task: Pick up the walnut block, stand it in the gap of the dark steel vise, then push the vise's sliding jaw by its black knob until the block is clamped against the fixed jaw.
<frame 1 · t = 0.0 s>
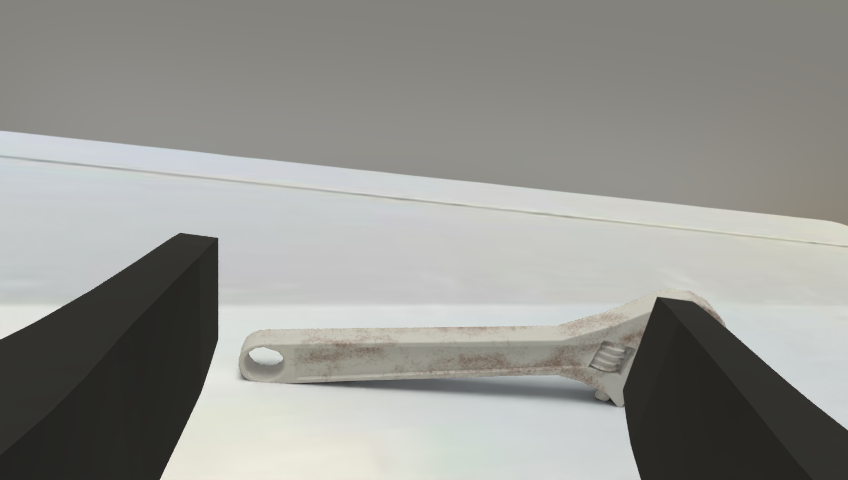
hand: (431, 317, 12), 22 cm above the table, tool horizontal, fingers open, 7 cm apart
wrench: (474, 394, 47), on the table
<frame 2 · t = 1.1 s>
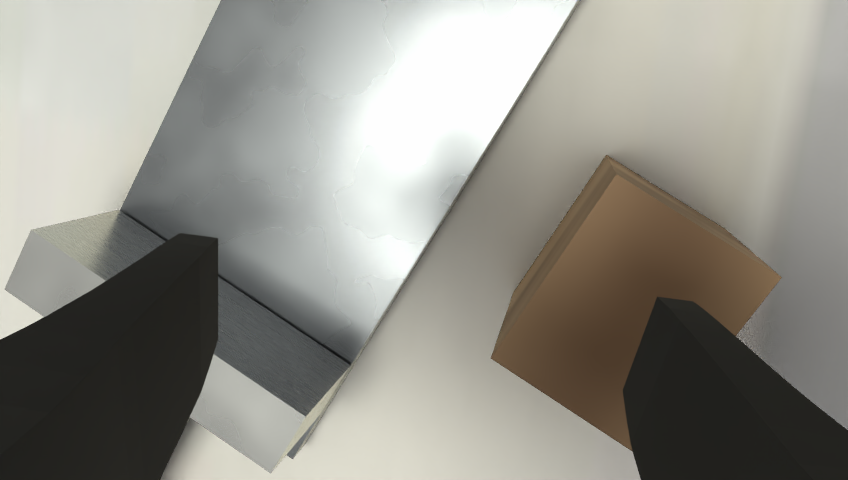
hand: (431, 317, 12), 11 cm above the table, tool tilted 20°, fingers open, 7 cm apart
slide jaw: (127, 443, 23), point 3 cm above the table, slide at 0.0 cm
block: (615, 262, 22), on the table
vise: (349, 93, 22), on the table
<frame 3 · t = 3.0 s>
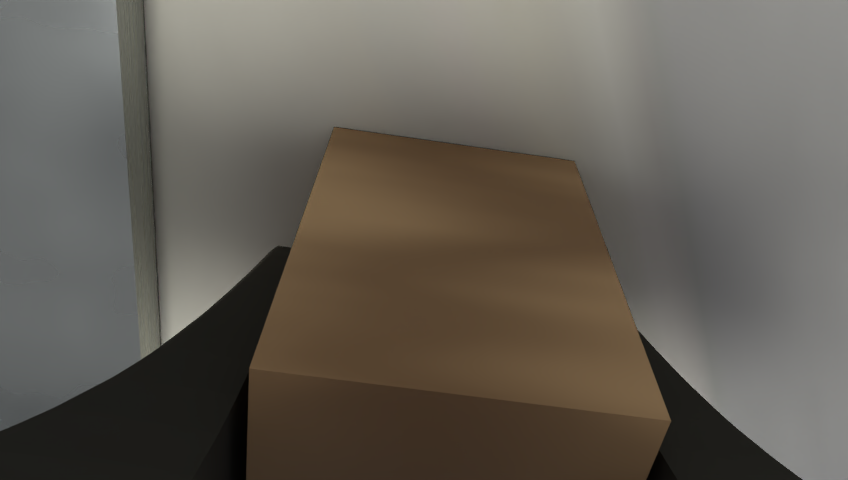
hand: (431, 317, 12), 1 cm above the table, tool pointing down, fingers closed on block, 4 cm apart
block: (432, 270, 13), on the table, touching gripper
when the fingers open (4 cm above the table, at t = 6.2 s): block stays where it is, resting on vise.
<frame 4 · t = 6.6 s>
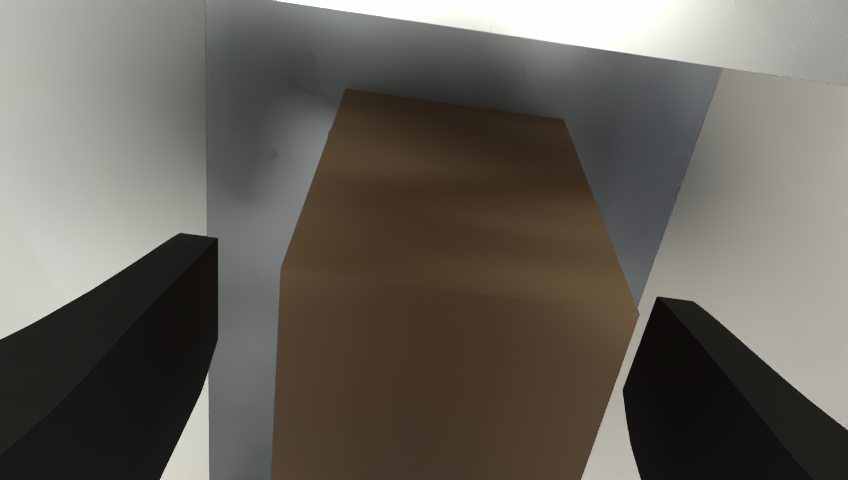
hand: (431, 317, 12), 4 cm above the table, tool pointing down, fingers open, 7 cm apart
block: (435, 223, 14), point 1 cm above the table, touching vise
vise: (409, 354, 17), on the table
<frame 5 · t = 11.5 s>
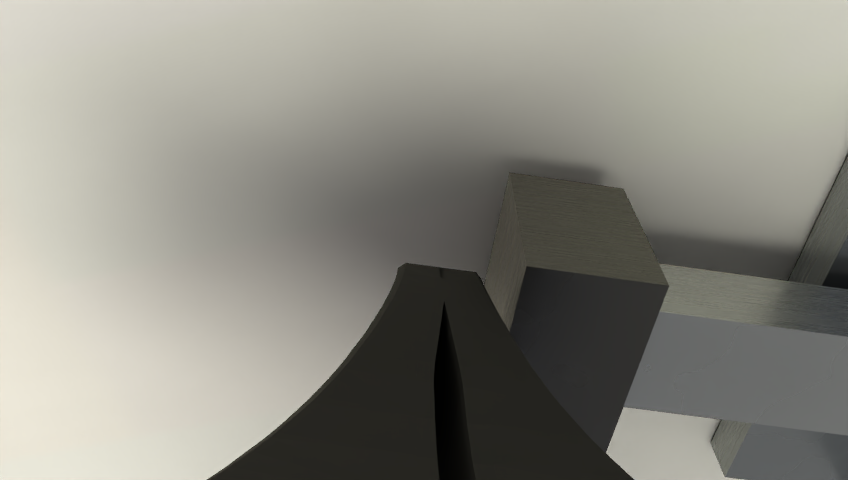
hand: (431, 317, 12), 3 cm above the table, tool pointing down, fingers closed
slide jaw: (821, 379, 12), point 3 cm above the table, slide at 0.8 cm, touching gripper
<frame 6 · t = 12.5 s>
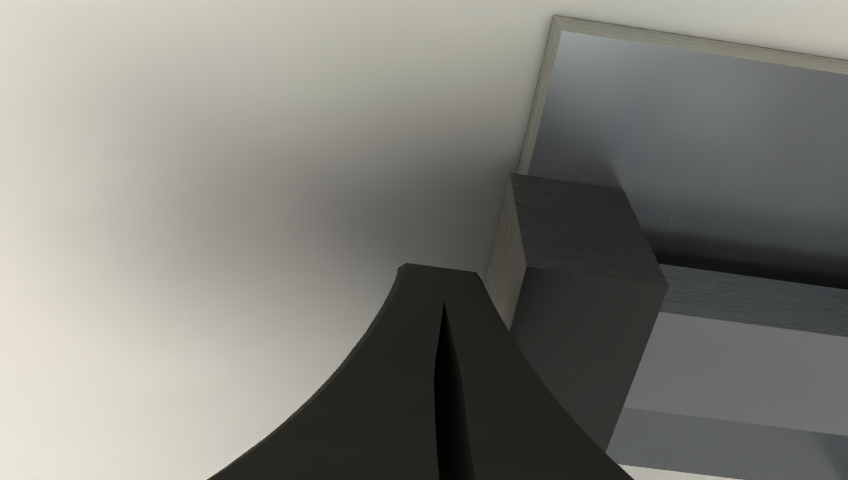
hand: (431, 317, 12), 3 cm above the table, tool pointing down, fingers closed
slide jaw: (820, 379, 12), point 3 cm above the table, slide at 6.7 cm, touching gripper
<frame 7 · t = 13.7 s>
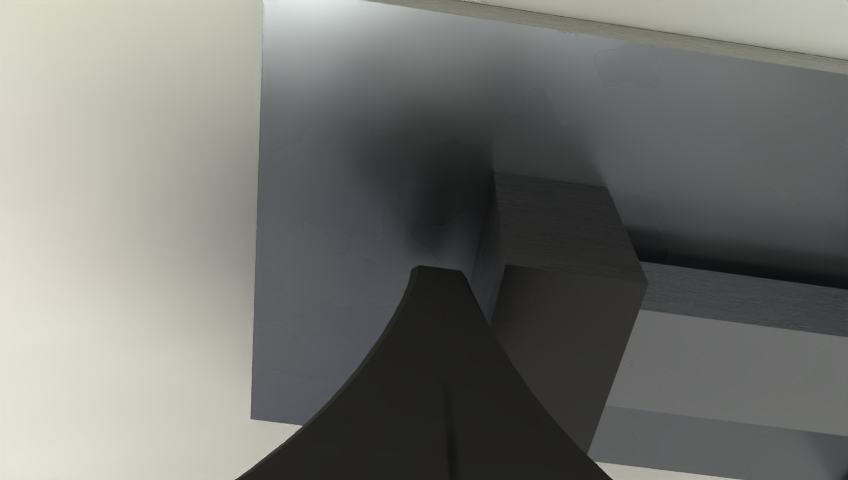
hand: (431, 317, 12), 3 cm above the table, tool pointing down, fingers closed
slide jaw: (804, 377, 12), point 3 cm above the table, slide at 11.0 cm, touching block, gripper
vise: (813, 287, 15), on the table
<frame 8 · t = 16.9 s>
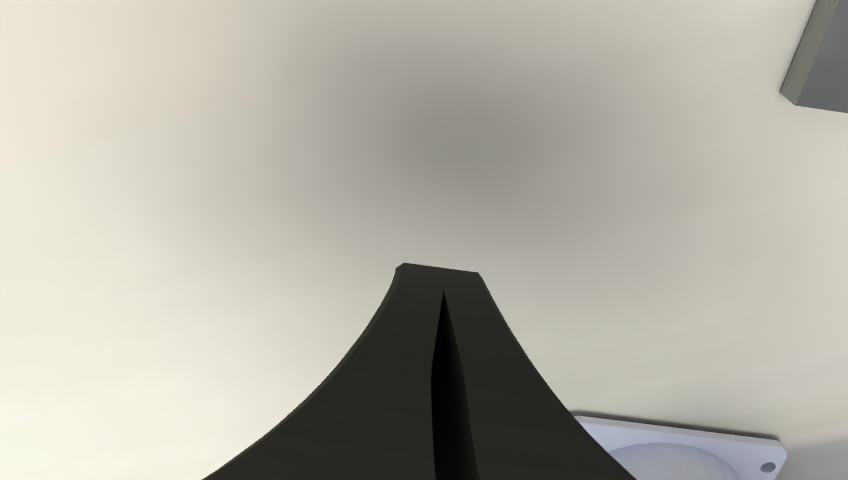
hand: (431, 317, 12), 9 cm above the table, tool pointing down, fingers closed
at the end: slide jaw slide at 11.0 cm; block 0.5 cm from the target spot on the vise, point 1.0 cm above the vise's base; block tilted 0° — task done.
